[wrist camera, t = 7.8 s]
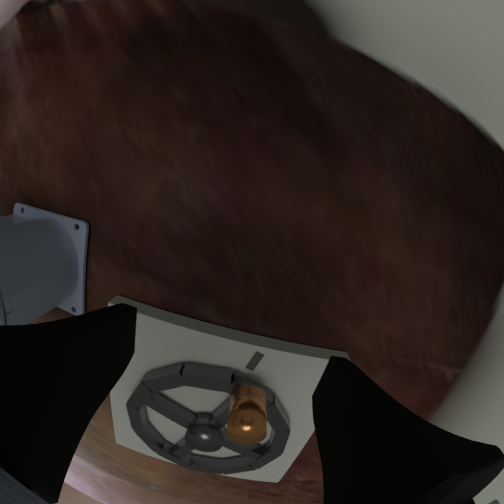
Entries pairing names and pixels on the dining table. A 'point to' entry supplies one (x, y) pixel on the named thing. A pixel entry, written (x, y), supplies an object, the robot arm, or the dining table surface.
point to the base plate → (208, 401)
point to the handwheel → (212, 419)
